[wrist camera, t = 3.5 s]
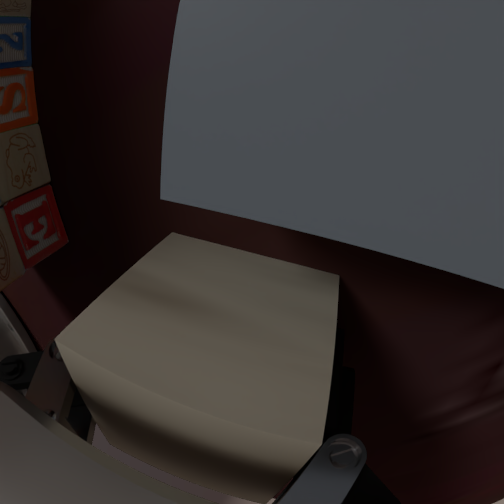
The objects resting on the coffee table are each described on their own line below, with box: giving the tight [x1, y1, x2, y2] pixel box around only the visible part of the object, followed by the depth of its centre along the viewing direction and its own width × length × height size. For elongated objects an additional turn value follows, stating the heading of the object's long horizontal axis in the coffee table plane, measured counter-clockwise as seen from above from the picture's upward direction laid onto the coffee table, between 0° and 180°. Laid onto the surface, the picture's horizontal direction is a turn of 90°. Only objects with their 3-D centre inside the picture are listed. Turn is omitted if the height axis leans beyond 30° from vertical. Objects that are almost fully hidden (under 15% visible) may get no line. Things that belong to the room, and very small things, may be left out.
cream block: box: [54, 232, 339, 504], centre depth 9 cm, size 6×6×6 cm
